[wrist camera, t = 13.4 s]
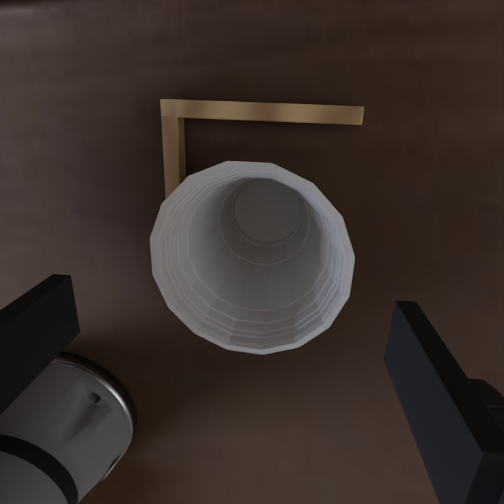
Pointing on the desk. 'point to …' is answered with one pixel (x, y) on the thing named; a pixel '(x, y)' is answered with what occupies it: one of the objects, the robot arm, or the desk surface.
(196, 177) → the plastic cup
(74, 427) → the robot arm
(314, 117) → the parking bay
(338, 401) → the desk surface
